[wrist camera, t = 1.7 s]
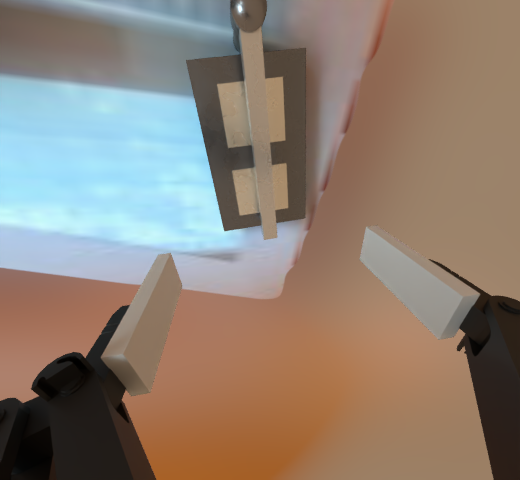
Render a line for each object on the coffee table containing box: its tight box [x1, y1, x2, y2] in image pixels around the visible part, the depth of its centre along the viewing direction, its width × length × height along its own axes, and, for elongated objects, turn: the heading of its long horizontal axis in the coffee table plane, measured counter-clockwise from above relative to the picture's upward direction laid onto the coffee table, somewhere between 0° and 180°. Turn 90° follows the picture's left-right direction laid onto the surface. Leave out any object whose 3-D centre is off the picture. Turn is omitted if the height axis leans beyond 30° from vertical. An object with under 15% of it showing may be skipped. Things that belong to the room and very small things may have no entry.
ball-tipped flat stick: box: [230, 0, 277, 240], centre depth 25 cm, size 26×3×3 cm, turn 6°
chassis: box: [186, 30, 306, 231], centre depth 28 cm, size 25×14×5 cm, turn 6°
